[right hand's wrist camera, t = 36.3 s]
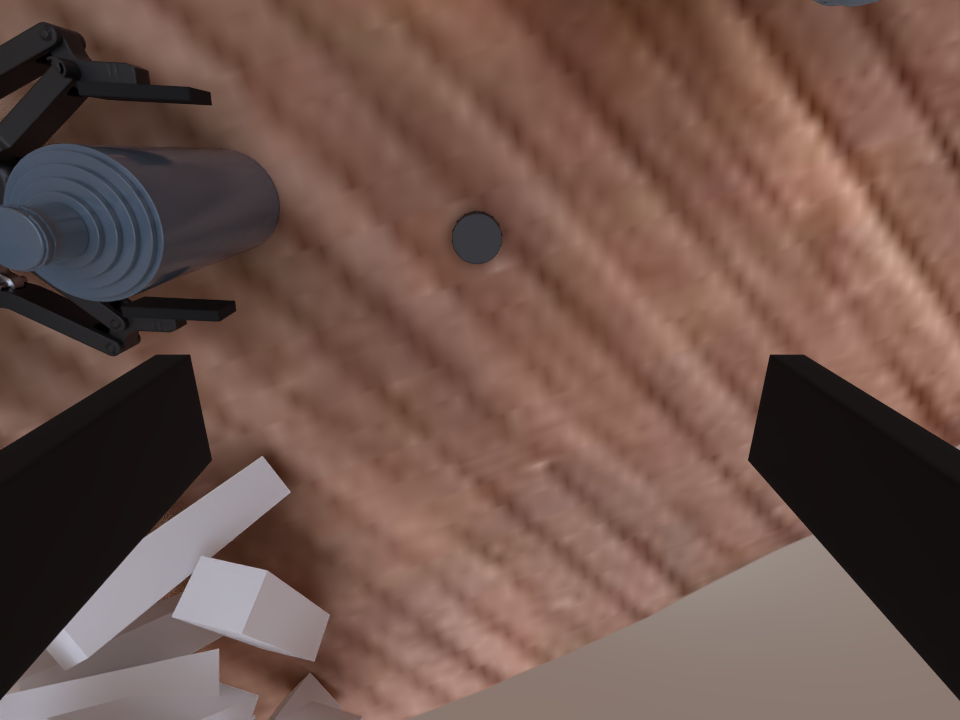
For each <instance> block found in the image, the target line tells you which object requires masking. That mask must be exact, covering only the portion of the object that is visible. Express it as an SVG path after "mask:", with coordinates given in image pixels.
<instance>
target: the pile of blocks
mask: <svg viewBox="0 0 960 720" xmlns="http://www.w3.org/2000/svg"><path fill="white" fill-rule="evenodd" d="M289 493H291V492H290V490H289V489H288V488H287V486H286V485H285V484H284V483H283V481H282V480H281V479H280V478H279V476H278V475H277V474H276V472H275V471H274V470H273V469H272V467H271V466H270V465H269V463H268V462H267V461H266V460H265V458H264V457H263V456H261V457H260V458H259V459H257V460H256V461H254V462H253V463H251V464H250V465H248V466H247V467H246V468H244V469H243V470H241V471H240V472H238V473H237V474H235V475H234V476H233V477H231V478H230V479H228V480H227V481H225V482H224V483H222V484H221V485H220V486H218V487H217V488H215V489H214V490H212V491H211V492H209V493H208V494H207V495H205V496H204V497H202V498H201V499H199V500H198V501H196V502H195V503H194V504H192V505H191V506H189V507H188V508H186V509H185V510H183V511H182V512H181V513H179V514H178V515H176V516H175V517H173V518H172V519H170V520H169V521H168V522H166V523H165V524H163V525H162V526H160V527H159V528H157V529H156V530H155V531H153V532H152V533H150V534H149V535H147V536H146V537H144V538H143V539H142V540H141V541H140V543H139V544H138V545H137V546H136V547H135V548H134V549H133V550H132V552H131V553H130V554H129V555H128V556H127V557H126V558H125V560H124V561H123V562H122V563H121V564H120V565H119V566H118V567H117V569H116V570H115V571H114V572H113V573H112V574H111V575H110V577H109V578H108V579H107V580H106V581H105V582H104V583H103V584H102V586H101V587H100V588H99V589H98V590H97V591H96V592H95V594H94V595H93V596H92V597H91V598H90V599H89V600H88V602H87V603H86V604H85V605H84V606H83V607H82V608H81V609H80V611H79V612H78V613H77V614H76V615H75V616H74V617H73V619H72V620H71V621H70V622H69V623H68V624H67V625H66V626H65V628H64V629H63V630H62V631H61V632H60V633H59V634H58V636H57V637H56V638H55V639H54V640H53V641H52V642H51V644H50V645H49V646H48V647H47V648H46V650H44V651H43V653H42V654H41V655H40V656H39V657H38V658H37V659H36V661H35V662H34V663H33V664H32V665H31V666H30V667H29V668H28V670H27V671H26V672H25V673H24V674H23V675H22V676H21V678H20V679H19V680H18V681H17V682H16V683H15V684H14V685H13V687H12V688H11V689H10V690H9V691H8V692H7V693H6V695H5V696H4V697H3V698H2V699H1V700H0V720H255V715H253V712H254V709H255V706H256V704H257V701H258V698H259V696H260V695H257V694H254V693H251V692H248V691H245V690H241V689H238V688H235V687H232V686H229V685H226V684H223V683H220V682H219V649H214V650H210V651H205V652H200V653H196V654H193V653H194V652H196V651H198V650H200V649H201V648H203V647H205V646H207V645H209V644H210V643H212V642H214V641H216V640H217V639H219V638H221V637H223V636H227V637H230V638H233V639H235V640H238V641H241V642H244V643H247V644H250V645H252V646H255V647H258V648H261V649H264V650H268V651H272V652H276V653H280V654H285V655H289V656H293V657H297V658H301V659H305V660H309V661H313V662H315V659H316V656H317V653H318V650H319V647H320V644H321V641H322V638H323V635H324V632H325V629H326V626H327V623H328V620H329V617H330V615H329V614H328V613H327V612H325V611H324V610H322V609H321V608H320V607H318V606H317V605H315V604H314V603H313V602H311V601H310V600H308V599H307V598H306V597H304V596H303V595H301V594H300V593H299V592H297V591H296V590H294V589H293V588H292V587H290V586H289V585H287V584H286V583H284V582H283V581H282V580H280V579H279V578H277V577H276V576H275V575H273V574H272V573H270V572H269V571H268V570H263V569H259V568H254V567H249V566H245V565H240V564H236V563H231V562H227V561H222V560H218V559H213V558H211V557H212V556H214V555H215V554H216V553H217V552H218V551H220V550H221V549H222V548H223V547H225V546H226V545H227V544H228V543H229V542H231V541H232V540H233V539H234V538H236V537H237V536H238V535H239V534H240V533H242V532H243V531H244V530H245V529H247V528H248V527H249V526H250V525H251V524H253V523H254V522H255V521H256V520H258V519H259V518H260V517H261V516H262V515H264V514H265V513H266V512H267V511H269V510H270V509H271V508H272V507H273V506H275V505H276V504H277V503H278V502H280V501H281V500H282V499H283V498H284V497H286V496H287V495H288V494H289ZM192 573H193V574H192ZM190 574H192V576H191V578H190V580H189V582H188V584H187V586H186V588H185V590H184V592H182V593H179V594H177V595H175V596H172V597H170V598H167V599H165V600H163V601H160V602H158V603H156V602H157V601H159V600H160V599H161V598H162V597H163V596H165V595H166V594H167V593H168V592H170V591H171V590H172V589H173V588H174V587H176V586H177V585H178V584H179V583H181V582H182V581H183V580H184V579H185V578H187V577H188V576H189V575H190ZM341 709H342V707H341V706H340V705H339V704H338V703H337V701H336V700H335V699H334V698H333V697H332V696H331V695H330V694H329V693H328V692H327V690H326V689H325V688H324V687H323V686H322V685H321V684H320V683H319V682H318V681H317V679H316V678H315V677H314V676H313V675H312V674H311V673H309V674H308V675H307V676H306V677H305V678H304V679H303V680H302V681H301V682H300V683H299V684H298V685H297V686H296V687H295V688H294V689H293V690H292V691H291V692H290V693H289V694H288V695H287V696H286V697H285V698H284V700H283V701H282V702H281V704H280V705H279V706H278V707H277V709H276V710H275V711H274V713H273V714H272V715H271V716H270V718H269V719H268V720H362V719H363V717H362V716H359V715H356V714H353V713H350V712H346V711H343V710H341Z"/></svg>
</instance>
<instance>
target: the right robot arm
mask: <svg viewBox="0 0 960 720" xmlns="http://www.w3.org/2000/svg"><path fill="white" fill-rule="evenodd" d="M814 1H816V2H818V3H820V4H822V5H826V6H841V5H843V6H847V7H855V6H861V5H865V4H869V3H873V2H877V1H881V0H814ZM211 461H212V458H211V453H210V448H209V444H208V439H207V434H206V429H205V424H204V420H203V415H202V410H201V405H200V400H199V396H198V391H197V386H196V381H195V376H194V372H193V367H192V362H191V357H190V355H155V356H153V357H152V358H150V359H148V360H147V361H145V362H143V363H142V364H140V365H139V366H137V367H135V368H134V369H132V370H130V371H129V372H127V373H126V374H124V375H122V376H121V377H119V378H117V379H116V380H114V381H112V382H111V383H109V384H108V385H106V386H104V387H103V388H101V389H99V390H98V391H96V392H95V393H93V394H91V395H90V396H88V397H86V398H85V399H83V400H82V401H80V402H78V403H77V404H75V405H73V406H72V407H70V408H68V409H67V410H65V411H64V412H62V413H60V414H59V415H57V416H55V417H54V418H52V419H51V420H49V421H47V422H46V423H44V424H42V425H41V426H39V427H37V428H36V429H34V430H33V431H31V432H29V433H28V434H26V435H24V436H23V437H21V438H20V439H18V440H16V441H15V442H13V443H11V444H10V445H8V446H7V447H5V448H3V449H2V450H0V700H1V699H2V698H3V697H4V696H5V695H6V693H7V692H8V691H9V690H10V689H11V688H12V687H13V685H14V684H15V683H16V682H17V681H18V680H19V679H20V678H21V676H22V675H23V674H24V673H25V672H26V671H27V670H28V668H29V667H30V666H31V665H32V664H33V663H34V662H35V661H36V659H37V658H38V657H39V656H40V655H41V654H42V653H43V651H44V650H45V649H46V648H47V647H48V646H49V645H50V644H51V642H52V641H53V640H54V639H55V638H56V637H57V636H58V634H59V633H60V632H61V631H62V630H63V629H64V628H65V626H66V625H67V624H68V623H69V622H70V621H71V620H72V619H73V617H74V616H75V615H76V614H77V613H78V612H79V611H80V609H81V608H82V607H83V606H84V605H85V604H86V603H87V602H88V600H89V599H90V598H91V597H92V596H93V595H94V594H95V592H96V591H97V590H98V589H99V588H100V587H101V586H102V584H103V583H104V582H105V581H106V580H107V579H108V578H109V577H110V575H111V574H112V573H113V572H114V571H115V570H116V569H117V567H118V566H119V565H120V564H121V563H122V562H123V561H124V560H125V558H126V557H127V556H128V555H129V554H130V553H131V552H132V550H133V549H134V548H135V547H136V546H137V545H138V544H139V543H140V541H141V540H142V539H143V538H144V537H145V536H146V535H147V533H148V532H149V531H150V530H151V529H152V528H153V527H154V525H155V524H156V523H157V522H158V521H159V520H160V519H161V518H162V516H163V515H164V514H165V513H166V512H167V511H168V510H169V508H170V507H171V506H172V505H173V504H174V503H175V502H176V501H177V499H178V498H179V497H180V496H181V495H182V494H183V493H184V491H185V490H186V489H187V488H188V487H189V486H190V485H191V483H192V482H193V481H194V480H195V479H196V478H197V477H198V476H199V474H200V473H201V472H202V471H203V470H204V469H205V468H206V466H207V465H208V464H209V463H210V462H211ZM748 461H749V462H750V463H751V464H752V465H753V466H754V468H755V469H756V470H757V471H758V472H759V473H760V474H761V476H762V477H763V478H764V479H765V480H766V481H767V482H768V483H769V485H770V486H771V487H772V488H773V489H774V490H775V491H776V493H777V494H778V495H779V496H780V497H781V498H782V499H783V501H784V502H785V503H786V504H787V505H788V506H789V507H790V508H791V510H792V511H793V512H794V513H795V514H796V515H797V516H798V518H799V519H800V520H801V521H802V522H803V523H804V524H805V525H806V527H807V528H808V529H809V530H810V531H811V532H812V533H813V535H814V536H815V537H816V538H817V539H818V540H819V541H820V542H821V544H822V545H823V546H824V547H825V548H826V549H827V550H828V552H829V553H830V554H831V555H832V556H833V557H834V558H835V559H836V561H837V562H838V563H839V564H840V565H841V566H842V567H843V569H844V570H845V571H846V572H847V573H848V574H849V575H850V577H851V578H852V579H853V580H854V581H855V582H856V583H857V584H858V586H859V587H860V588H861V589H862V590H863V591H864V592H865V594H866V595H867V596H868V597H869V598H870V599H871V600H872V601H873V603H874V604H875V605H876V606H877V607H878V608H879V609H880V611H881V612H882V613H883V614H884V615H885V616H886V617H887V619H888V620H889V621H890V622H891V623H892V624H893V625H894V626H895V628H896V629H897V630H898V631H899V632H900V633H901V634H902V636H903V637H904V638H905V639H906V640H907V641H908V642H909V643H910V645H911V646H912V647H913V648H914V649H915V650H916V651H917V653H918V654H919V655H920V656H921V657H922V658H923V659H924V661H925V662H926V663H927V664H928V665H929V666H930V667H931V668H932V670H933V671H934V672H935V673H936V674H937V675H938V676H939V678H940V679H941V680H942V681H943V682H944V683H945V684H946V685H947V687H948V688H949V689H950V690H951V691H952V692H953V693H954V695H955V696H956V697H957V698H958V699H959V700H960V450H958V449H957V448H955V447H953V446H952V445H950V444H949V443H947V442H945V441H944V440H942V439H940V438H939V437H937V436H936V435H934V434H932V433H931V432H929V431H927V430H926V429H924V428H923V427H921V426H919V425H918V424H916V423H914V422H913V421H911V420H909V419H908V418H906V417H905V416H903V415H901V414H900V413H898V412H896V411H895V410H893V409H892V408H890V407H888V406H887V405H885V404H883V403H882V402H880V401H878V400H877V399H875V398H874V397H872V396H870V395H869V394H867V393H865V392H864V391H862V390H861V389H859V388H857V387H856V386H854V385H852V384H851V383H849V382H848V381H846V380H844V379H843V378H841V377H839V376H838V375H836V374H834V373H833V372H831V371H830V370H828V369H826V368H825V367H823V366H821V365H820V364H818V363H817V362H815V361H813V360H812V359H810V358H808V357H807V356H805V355H770V357H769V362H768V367H767V371H766V376H765V381H764V386H763V391H762V395H761V400H760V405H759V410H758V415H757V420H756V424H755V429H754V434H753V439H752V444H751V448H750V453H749V458H748Z"/></svg>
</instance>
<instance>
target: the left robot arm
mask: <svg viewBox="0 0 960 720" xmlns="http://www.w3.org/2000/svg"><path fill="white" fill-rule="evenodd" d="M85 48H86V43H85V40H84V38H83V37H82V36H81V34H79V33H77V32H75V31H72V30H68V29H65V28H62V27H59V26H56V25H52V24H49V23H45V22H41V23H38V24H36V25H35V26H33V27H31V28H30V29H28V30H26V31H24V32H23V33H21V34H19V35H18V36H16V37H14V38H12V39H11V40H9V41H7V42H6V43H4V44H2V45H0V99H2V98H3V97H5V96H7V95H9V94H10V93H12V92H14V91H16V90H17V89H19V88H21V87H23V86H25V85H26V84H28V83H30V82H32V81H33V80H35V79H37V78H39V77H40V76H42V75H43V76H42V77H41V78H40V79H39V80H38V81H37V82H36V83H35V85H34V86H33V87H32V88H31V89H30V90H29V91H28V92H27V93H26V95H25V96H24V97H23V98H22V99H21V100H20V101H19V102H18V103H17V105H16V106H15V107H14V108H13V109H12V110H11V111H10V112H9V113H8V115H7V116H6V117H5V118H4V119H3V120H2V121H1V122H0V205H3V202H4V193H5V188H6V184H7V181H8V178H9V176H10V174H11V172H12V171H13V169H14V167H15V166H16V165H17V164H18V162H19V161H20V160H21V159H22V158H24V157H25V156H26V155H27V154H29V153H30V152H32V151H34V150H36V149H38V148H41V147H42V146H43V145H44V144H45V143H46V142H47V141H48V140H49V138H50V137H51V136H52V135H53V134H54V133H55V132H56V131H57V130H58V129H59V128H60V127H61V126H62V125H63V124H64V123H65V121H66V120H67V119H68V118H69V117H70V116H71V115H72V114H73V113H74V112H75V111H76V110H77V109H78V108H79V107H80V105H81V104H82V103H83V102H84V101H85V100H86V99H87V98H88V97H94V98H100V99H107V100H121V101H140V102H158V103H177V104H196V105H212V102H211V94H210V92H207V91H203V90H199V89H195V88H191V87H179V86H161V85H150V79H149V73H148V71H147V70H145V69H143V68H141V67H138V66H135V65H131V64H127V63H117V62H116V63H115V62H98V61H92V60H91V59H90V58H89V57H88V55H87V53H86V51H85ZM31 272H32V273H34V274H35V275H36V276H38V277H39V278H40V279H42V280H43V281H45V282H46V283H47V284H49V285H50V286H52V287H53V288H54V289H56V290H57V291H58V292H60V293H61V294H63V295H64V296H65V297H67V298H68V299H67V298H65V297H63V296H61V295H59V294H57V293H54V292H52V291H50V290H48V289H46V288H43V287H41V286H38V285H35V284H31V283H27V282H28V280H27V278H26V277H25V276H19V275H17V274H15V273H12V272H11V271H10V270H9V269H8V268H7V267H4V266H2V265H1V264H0V308H6V309H10V310H12V311H14V312H17V313H19V314H21V315H23V316H25V317H27V318H30V319H32V320H34V321H36V322H38V323H40V324H43V325H45V326H47V327H49V328H51V329H54V330H56V331H58V332H60V333H62V334H64V335H67V336H69V337H71V338H73V339H75V340H77V341H80V342H82V343H84V344H86V345H88V346H90V347H93V348H95V349H97V350H99V351H101V352H103V353H106V354H108V355H110V356H116V355H118V354H120V353H122V352H124V351H126V350H128V349H129V348H131V347H133V346H135V345H137V344H138V343H139V342H140V340H141V338H140V335H139V334H138V333H139V331H153V332H155V331H156V332H172V331H175V330H177V329H179V328H181V327H182V326H184V325H186V324H187V322H186V320H197V321H218V322H219V321H221V320H223V319H224V318H226V317H227V316H229V315H230V314H232V313H234V312H235V311H236V305H235V301H226V300H205V299H183V298H162V297H143V298H140V299H138V300H135V301H133V302H132V301H131V300H129V299H128V298H125V299H122V300H117V301H108V302H100V301H91V300H86V299H82V298H79V297H76V296H73V295H70V294H68V293H66V292H64V291H62V290H60V289H58V288H56V287H55V286H53V285H52V284H50V283H49V282H48V281H46V280H45V279H43V278H42V277H41V276H40V275H38V274H37V273H36V272H35V271H31Z"/></svg>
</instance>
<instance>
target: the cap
mask: <svg viewBox="0 0 960 720" xmlns="http://www.w3.org/2000/svg"><path fill="white" fill-rule="evenodd" d="M452 242H453V247H454V249H455V251H456V253H457V254H458V256H459V257H460V258H462V259H463V260H465V261H466V262H469V263H472V264H482V263H485V262H488V261H490V260H491V259H493V258H494V257H495V256H496V255H497V253H498V251H499V249H500V247H501V243H502V233H501V231H500V228H499V223H497V222H496V220H495V219H494V218H493V216H490V215H489V214H486V213H484V212H475V211H474V212H470V213H468V214H464V216H463V217H461V218H460V219H459V220H458V221H457V224H456V226H455V228H454V229H453V236H452Z"/></svg>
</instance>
